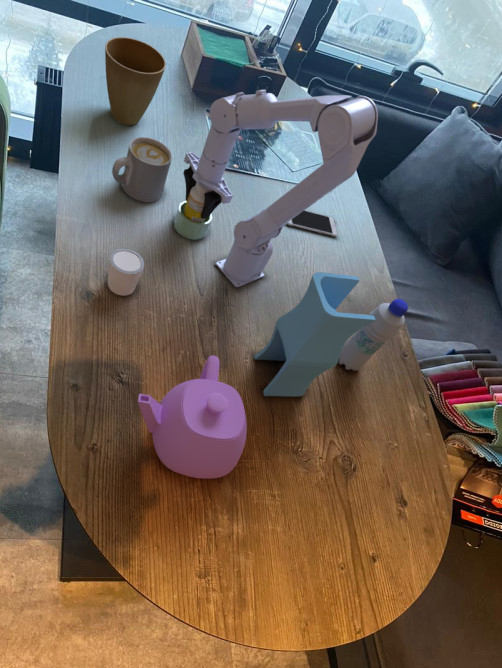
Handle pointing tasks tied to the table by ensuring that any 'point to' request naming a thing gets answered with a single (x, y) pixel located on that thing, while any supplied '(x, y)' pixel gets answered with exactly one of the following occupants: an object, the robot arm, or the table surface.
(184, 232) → the cup
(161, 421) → the teapot
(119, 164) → the coffee mug
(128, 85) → the plant pot
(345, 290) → the blue tall flared piece
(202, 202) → the supplement bottle
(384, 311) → the bottle
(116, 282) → the white round canister
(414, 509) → the table surface
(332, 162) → the robot arm
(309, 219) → the smartphone
